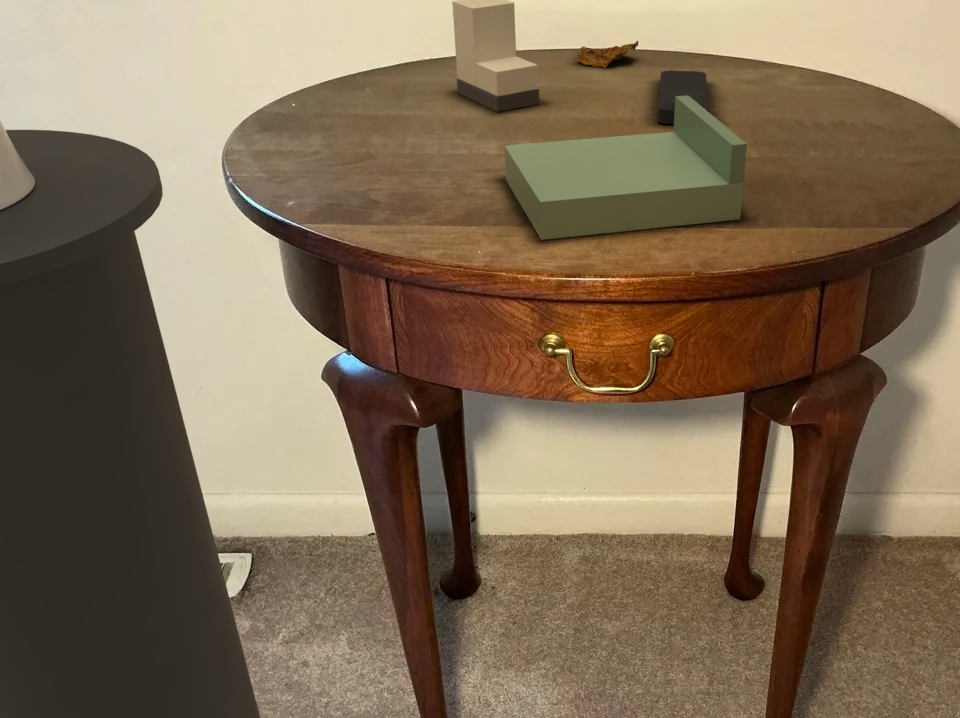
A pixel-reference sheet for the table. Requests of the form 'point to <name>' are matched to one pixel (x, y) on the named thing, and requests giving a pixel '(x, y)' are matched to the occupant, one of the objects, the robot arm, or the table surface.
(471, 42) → the beige stepped block
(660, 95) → the remote control
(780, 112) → the table surface
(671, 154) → the green l-shaped bracket
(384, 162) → the table surface
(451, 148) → the table surface
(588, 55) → the leaf
